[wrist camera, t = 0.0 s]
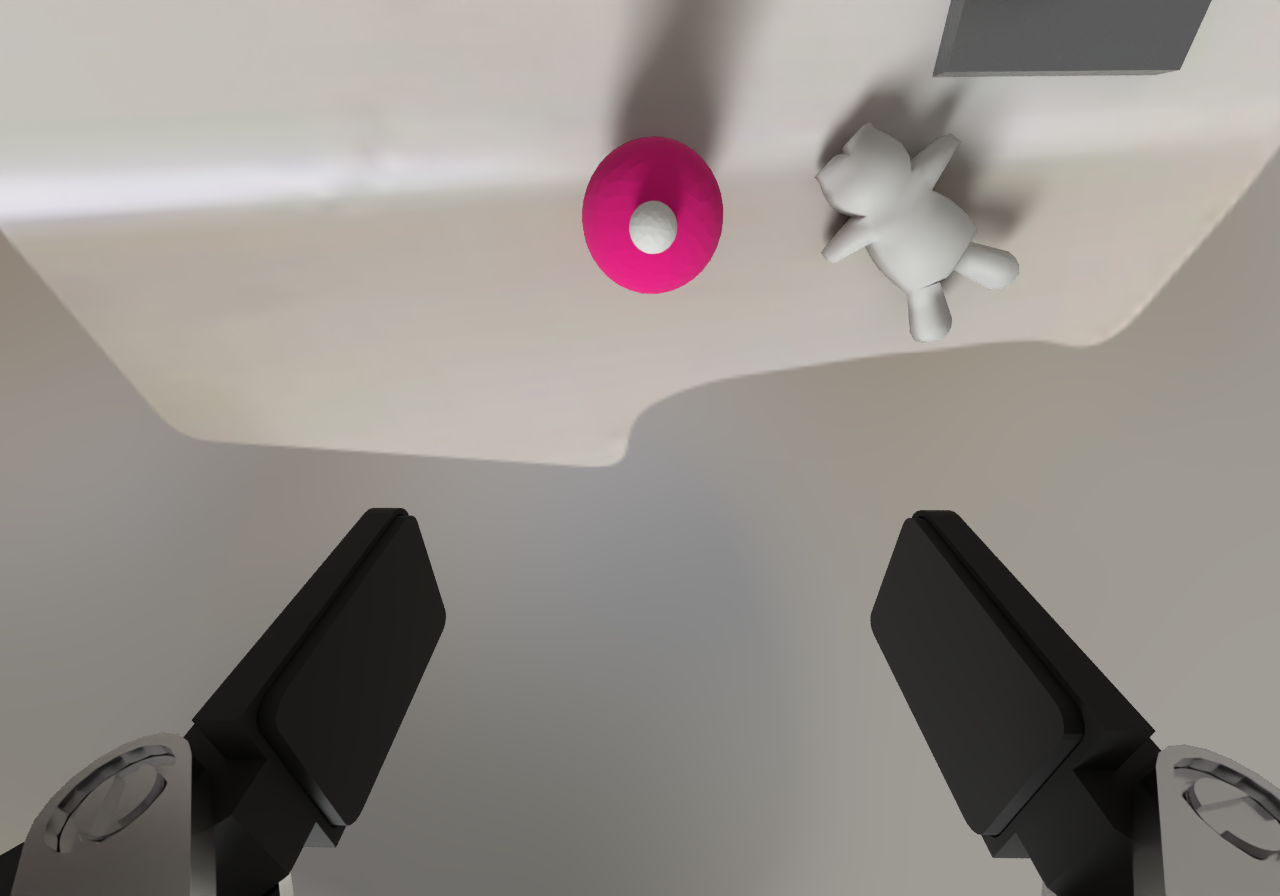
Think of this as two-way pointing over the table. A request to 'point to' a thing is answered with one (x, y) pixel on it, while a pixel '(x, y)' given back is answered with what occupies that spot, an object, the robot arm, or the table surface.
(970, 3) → the sleeve
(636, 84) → the table surface
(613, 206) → the pepper mill
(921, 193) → the grey toy animal
